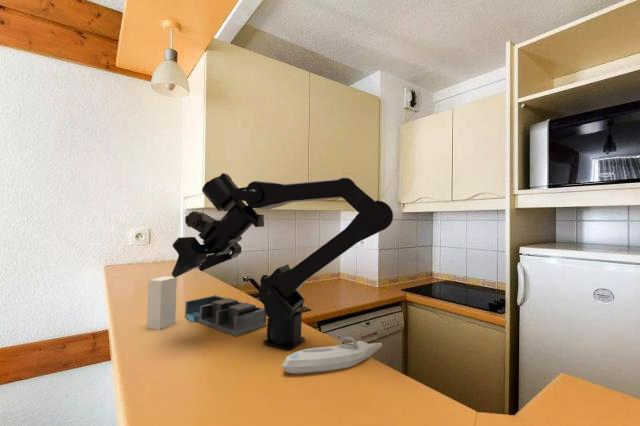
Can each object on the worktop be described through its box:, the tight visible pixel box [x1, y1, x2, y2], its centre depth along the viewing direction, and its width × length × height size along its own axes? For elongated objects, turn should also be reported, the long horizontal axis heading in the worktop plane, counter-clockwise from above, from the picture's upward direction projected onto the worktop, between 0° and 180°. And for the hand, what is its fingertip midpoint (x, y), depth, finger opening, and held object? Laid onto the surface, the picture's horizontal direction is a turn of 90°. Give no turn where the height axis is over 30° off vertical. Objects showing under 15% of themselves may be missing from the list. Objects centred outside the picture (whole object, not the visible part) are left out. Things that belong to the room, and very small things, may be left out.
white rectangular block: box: [146, 275, 178, 331], centre depth 74 cm, size 4×5×11 cm
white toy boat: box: [281, 336, 383, 375], centre depth 58 cm, size 23×7×4 cm, turn 124°
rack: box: [184, 294, 267, 337], centre depth 78 cm, size 20×10×5 cm, turn 54°
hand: (187, 272), depth 72 cm, fingers open, 9 cm apart
